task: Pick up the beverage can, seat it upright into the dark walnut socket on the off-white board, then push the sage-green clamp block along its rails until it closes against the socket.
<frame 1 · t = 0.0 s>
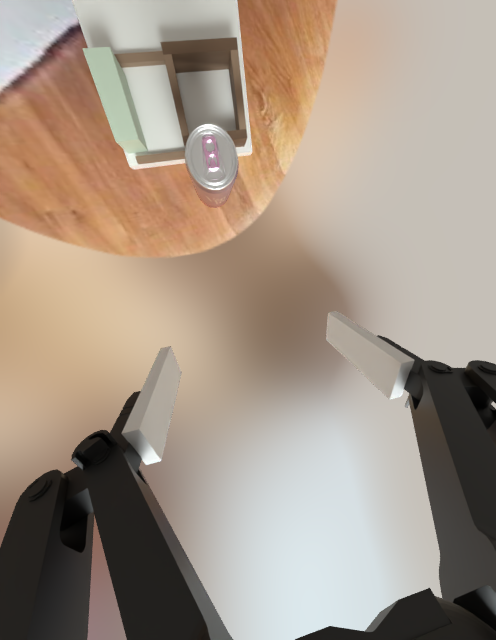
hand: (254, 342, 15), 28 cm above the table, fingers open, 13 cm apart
clamp block: (120, 107, 24), point 4 cm above the table, slide at 0.0 cm
beverage can: (212, 189, 33), on the table
socket: (209, 114, 28), resting on board
board: (177, 89, 27), on the table
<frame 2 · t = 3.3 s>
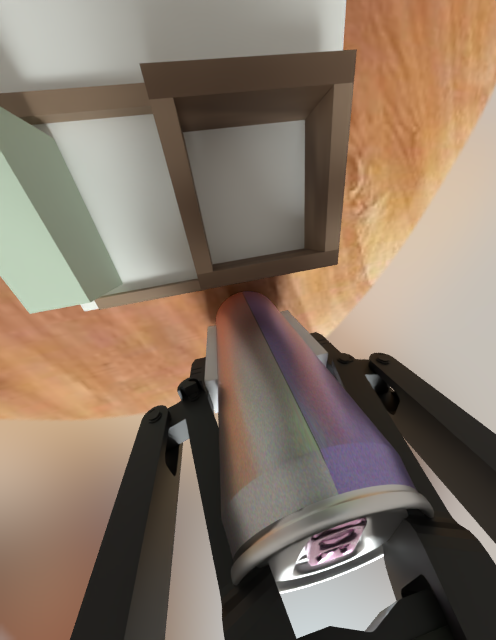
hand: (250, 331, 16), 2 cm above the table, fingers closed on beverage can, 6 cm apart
clamp block: (42, 225, 9), point 4 cm above the table, slide at 0.0 cm
beverage can: (245, 316, 18), on the table, touching gripper
socket: (249, 203, 14), resting on board
board: (185, 158, 12), on the table
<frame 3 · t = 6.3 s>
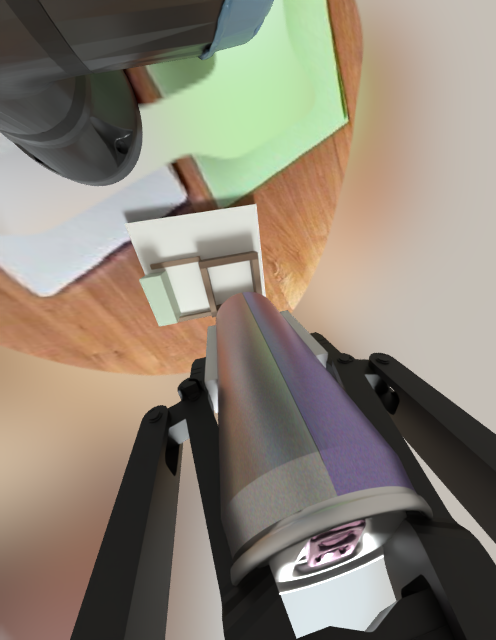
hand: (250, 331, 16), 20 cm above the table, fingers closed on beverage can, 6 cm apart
clamp block: (162, 298, 30), point 4 cm above the table, slide at 0.0 cm
beverage can: (245, 317, 18), point 18 cm above the table, touching gripper
socket: (231, 280, 34), resting on board
board: (206, 268, 32), on the table
when the fingers open (5 cm above the table, at t = 9.2 s): beverage can drops 1 cm, resting on board.
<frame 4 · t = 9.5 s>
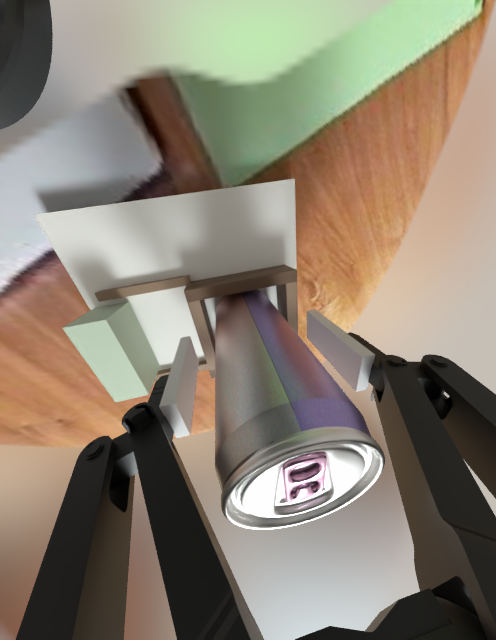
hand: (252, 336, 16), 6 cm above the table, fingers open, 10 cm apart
clamp block: (122, 351, 17), point 4 cm above the table, slide at 0.0 cm
beverage can: (243, 311, 19), point 1 cm above the table, touching board
socket: (242, 311, 21), resting on board
board: (201, 293, 19), on the table
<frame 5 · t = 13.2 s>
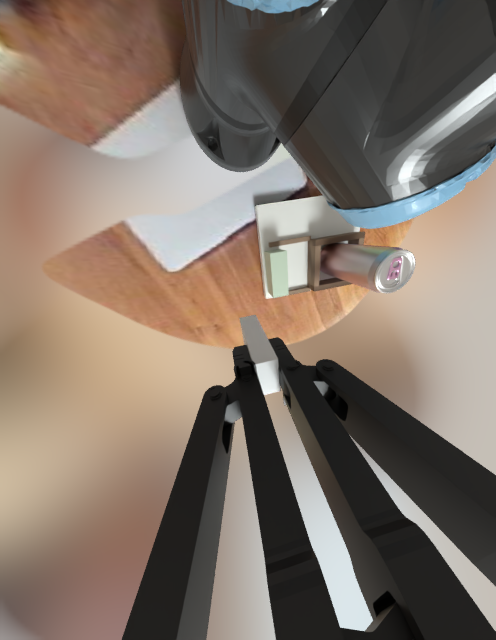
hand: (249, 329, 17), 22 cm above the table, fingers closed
clamp block: (276, 273, 34), point 4 cm above the table, slide at 0.0 cm
beverage can: (328, 258, 37), point 1 cm above the table, touching board
socket: (325, 259, 38), resting on board
board: (307, 248, 36), on the table
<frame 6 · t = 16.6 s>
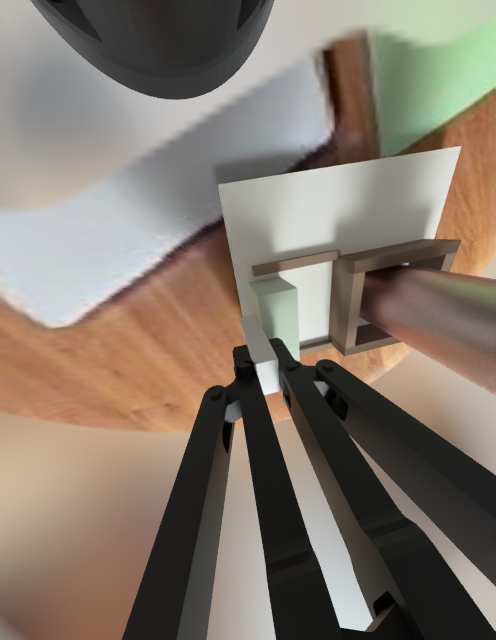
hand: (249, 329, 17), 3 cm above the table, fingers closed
clamp block: (274, 326, 16), point 4 cm above the table, slide at 0.5 cm, touching gripper
beverage can: (370, 289, 19), point 1 cm above the table, touching board
socket: (361, 290, 21), resting on board
board: (330, 271, 19), on the table
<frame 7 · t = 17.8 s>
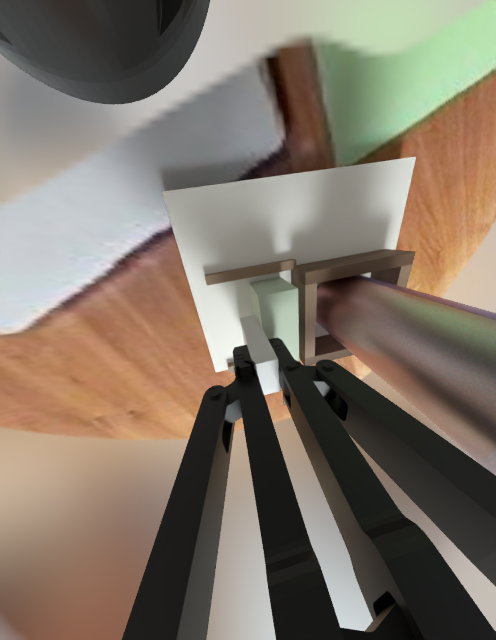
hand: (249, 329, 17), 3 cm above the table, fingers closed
clamp block: (274, 327, 16), point 4 cm above the table, slide at 4.7 cm, touching gripper
beverage can: (333, 298, 19), point 1 cm above the table, touching board
socket: (326, 299, 20), resting on board
board: (292, 279, 19), on the table
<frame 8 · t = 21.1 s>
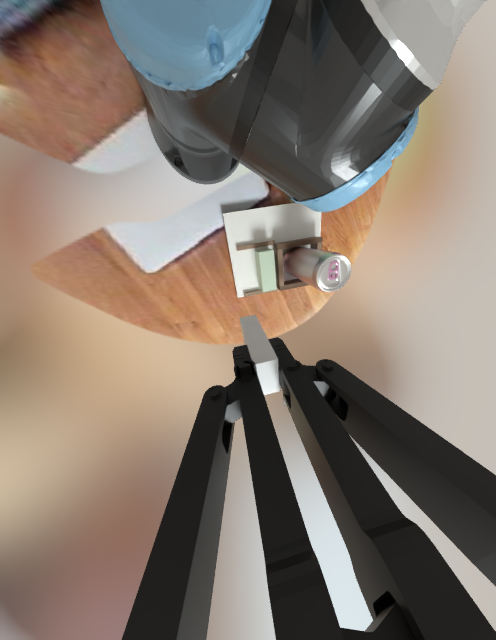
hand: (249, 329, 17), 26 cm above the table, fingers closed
clamp block: (265, 270, 38), point 4 cm above the table, slide at 4.7 cm
beverage can: (293, 260, 40), point 1 cm above the table, touching board
socket: (291, 261, 42), resting on board
board: (274, 251, 40), on the table
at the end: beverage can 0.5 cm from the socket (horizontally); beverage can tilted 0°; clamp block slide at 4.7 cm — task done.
